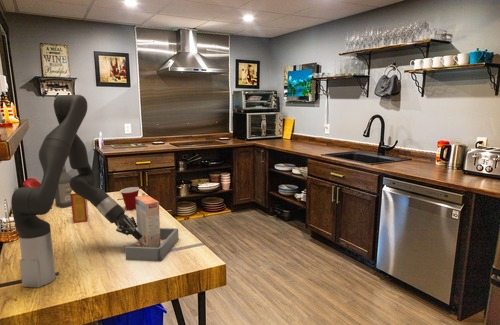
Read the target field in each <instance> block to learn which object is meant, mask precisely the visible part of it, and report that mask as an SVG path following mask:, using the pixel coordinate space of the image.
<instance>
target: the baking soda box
mask: <svg viewBox="0 0 500 325" xmlns="http://www.w3.org/2000/svg"><path fill="white" fill-rule="evenodd" d="M71 204H72V206H71V214H72V224H80V223H87V222H88V219H89V208H88V200H86V199H84V198H83V197H81V196H79V195H78V194H76V193H75V192H74V191H73V190H72V192H71Z"/></svg>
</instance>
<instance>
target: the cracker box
mask: <svg viewBox="0 0 500 325" xmlns="http://www.w3.org/2000/svg"><path fill="white" fill-rule="evenodd" d="M135 198H136V209H135V214H136V224H137V228H136V229H137V231H138V232H139V233H140V234H141V235H142V237H141V238H140V239H139V240H137V242H138V243H139V244H140V245H141V247H153V248H158V247H159V246H160V245H161V244H162V243H161V239H160V228H161V225H160V222H161V221H160V201H158V200H156V199H155V198H153V197H151V196H150V195H149V194H145V195H144V196H142V195H140V196H139V195H138V196H137V197H135Z"/></svg>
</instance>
